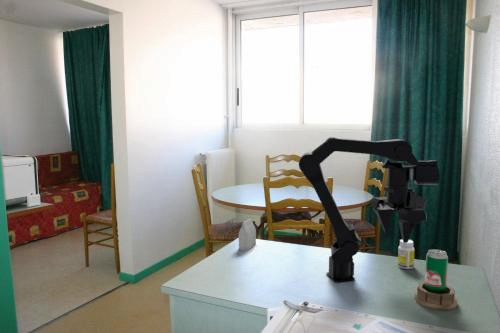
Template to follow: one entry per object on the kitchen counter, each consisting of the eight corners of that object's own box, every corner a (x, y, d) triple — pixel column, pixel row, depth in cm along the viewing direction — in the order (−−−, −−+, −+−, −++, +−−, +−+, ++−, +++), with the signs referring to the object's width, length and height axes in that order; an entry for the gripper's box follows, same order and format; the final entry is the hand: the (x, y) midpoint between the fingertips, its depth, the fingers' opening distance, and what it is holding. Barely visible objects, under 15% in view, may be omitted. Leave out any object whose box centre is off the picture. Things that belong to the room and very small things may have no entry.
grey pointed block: (255, 245, 150) (255, 218, 149) (247, 250, 144) (247, 223, 143) (247, 243, 152) (246, 217, 151) (238, 249, 146) (238, 222, 145)
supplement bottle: (411, 264, 131) (412, 238, 130) (415, 269, 126) (417, 243, 125) (395, 263, 131) (397, 238, 130) (399, 269, 126) (400, 243, 125)
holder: (431, 312, 99) (432, 299, 98) (406, 294, 108) (407, 282, 108) (466, 307, 101) (467, 294, 101) (438, 290, 111) (439, 278, 110)
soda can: (420, 295, 105) (422, 251, 104) (430, 290, 108) (432, 247, 107) (439, 302, 101) (442, 256, 100) (449, 297, 104) (452, 252, 103)
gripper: (445, 188, 107) (442, 245, 109) (403, 177, 125) (401, 226, 127) (408, 190, 104) (406, 248, 106) (371, 179, 122) (369, 229, 124)
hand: (395, 237), depth 116 cm, fingers open, 9 cm apart
